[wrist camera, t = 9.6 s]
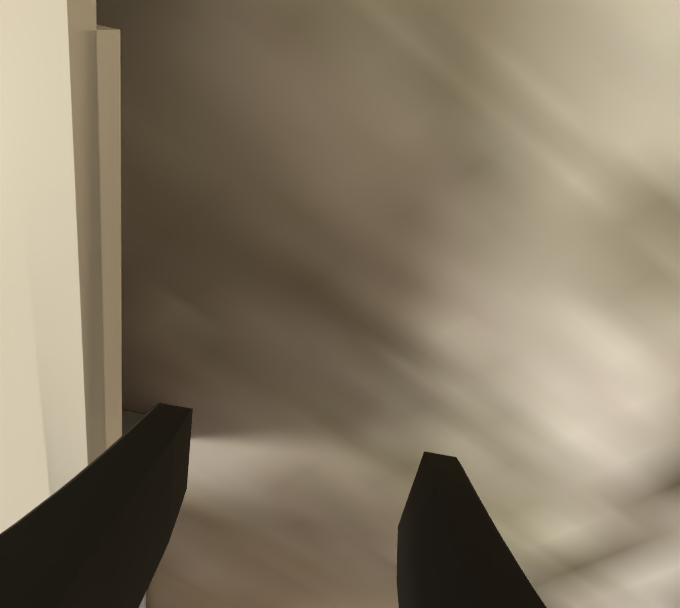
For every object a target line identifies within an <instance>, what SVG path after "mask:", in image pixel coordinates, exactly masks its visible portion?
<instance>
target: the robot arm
mask: <svg viewBox="0 0 680 608" xmlns="http://www.w3.org/2000/svg"><path fill="white" fill-rule="evenodd" d="M192 410H193V409H190V408H185V407H179V406H174V405H169V404H163V403H159V404H157V405H155V406H153V407H152V408H151V409H150V410H149V411H148V412H147V413H146V414H145V415H144V416H143V417H142V418H141V419H140V420H139V421H138V422H136V423H135V424H134V425H133V426H132V427H131V428H130V429H129V430H128V431H127V432H126V433H125V434H123V435H122V436H121V437H120V438H119V439H118V440H117V441H116V442H115V443H113V444H112V445H111V446H110V447H109V448H108V449H107V450H106V451H104V452H103V453H102V454H101V455H100V456H99V457H97V458H96V459H95V460H94V461H93V462H91V463H90V464H89V465H88V466H87V467H86V468H84V469H83V470H82V471H81V472H80V473H78V474H77V475H76V476H75V477H74V478H72V479H71V480H70V481H69V482H68V483H66V484H65V485H64V486H63V487H61V488H60V489H59V490H58V491H56V492H55V493H54V494H52V495H51V496H50V497H48V498H47V499H46V500H45V501H43V502H42V503H41V504H39V505H38V506H37V507H35V508H34V509H33V510H31V511H30V512H29V513H28V514H26V515H25V516H24V517H22V518H21V519H20V520H18V521H17V522H16V523H14V524H13V525H12V526H10V527H9V528H8V529H6V530H5V531H3V532H2V533H1V534H0V608H146V591H147V589H148V587H149V584H150V582H151V580H152V578H153V576H154V573H155V571H156V569H157V567H158V565H159V562H160V560H161V558H162V556H163V554H164V551H165V549H166V547H167V545H168V542H169V540H170V537H171V534H172V531H173V528H174V525H175V522H176V519H177V516H178V513H179V510H180V507H181V504H182V501H183V498H184V495H185V492H186V489H187V477H188V464H189V450H190V437H191V424H192ZM397 590H398V603H399V608H546V606H545V605H544V603H543V602H542V600H541V599H540V597H539V596H538V594H537V593H536V591H535V590H534V588H533V587H532V585H531V584H530V582H529V580H528V579H527V577H526V576H525V574H524V573H523V571H522V569H521V568H520V566H519V565H518V563H517V561H516V560H515V558H514V556H513V555H512V553H511V551H510V550H509V548H508V547H507V545H506V543H505V542H504V540H503V538H502V537H501V535H500V533H499V532H498V530H497V528H496V527H495V525H494V523H493V521H492V520H491V518H490V516H489V514H488V513H487V511H486V509H485V507H484V506H483V504H482V502H481V500H480V498H479V497H478V495H477V493H476V491H475V489H474V488H473V486H472V484H471V482H470V480H469V478H468V477H467V475H466V473H465V471H464V469H463V467H462V466H461V464H460V462H459V461H458V459H457V458H456V457H452V456H446V455H441V454H435V453H430V452H424V454H423V457H422V459H421V462H420V465H419V468H418V471H417V474H416V477H415V479H414V482H413V485H412V488H411V491H410V494H409V497H408V499H407V502H406V505H405V508H404V511H403V514H402V517H401V519H400V522H399V525H398V546H397Z"/></svg>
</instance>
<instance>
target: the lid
mask: <svg viewBox="0 0 680 608" xmlns="http://www.w3.org/2000/svg"><path fill="white" fill-rule="evenodd" d="M121 436H122V323H121V66H120V29H115V28H111V27H106V26H101V25H97V22H96V0H0V534H1V533H2V532H3V531H5V530H6V529H8V528H9V527H10V526H12V525H13V524H14V523H16V522H17V521H18V520H20V519H21V518H22V517H24V516H25V515H26V514H28V513H29V512H30V511H31V510H33V509H34V508H35V507H37V506H38V505H39V504H41V503H42V502H43V501H45V500H46V499H47V498H48V497H50V496H51V495H52V494H54V493H55V492H56V491H58V490H59V489H60V488H61V487H63V486H64V485H65V484H66V483H68V482H69V481H70V480H71V479H72V478H74V477H75V476H76V475H77V474H78V473H80V472H81V471H82V470H83V469H84V468H86V467H87V466H88V465H89V464H90V463H91V462H93V461H94V460H95V459H96V458H97V457H99V456H100V455H101V454H102V453H103V452H104V451H106V450H107V449H108V448H109V447H110V446H111V445H112V444H113V443H115V442H116V441H117V440H118V439H119V438H120V437H121Z"/></svg>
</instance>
